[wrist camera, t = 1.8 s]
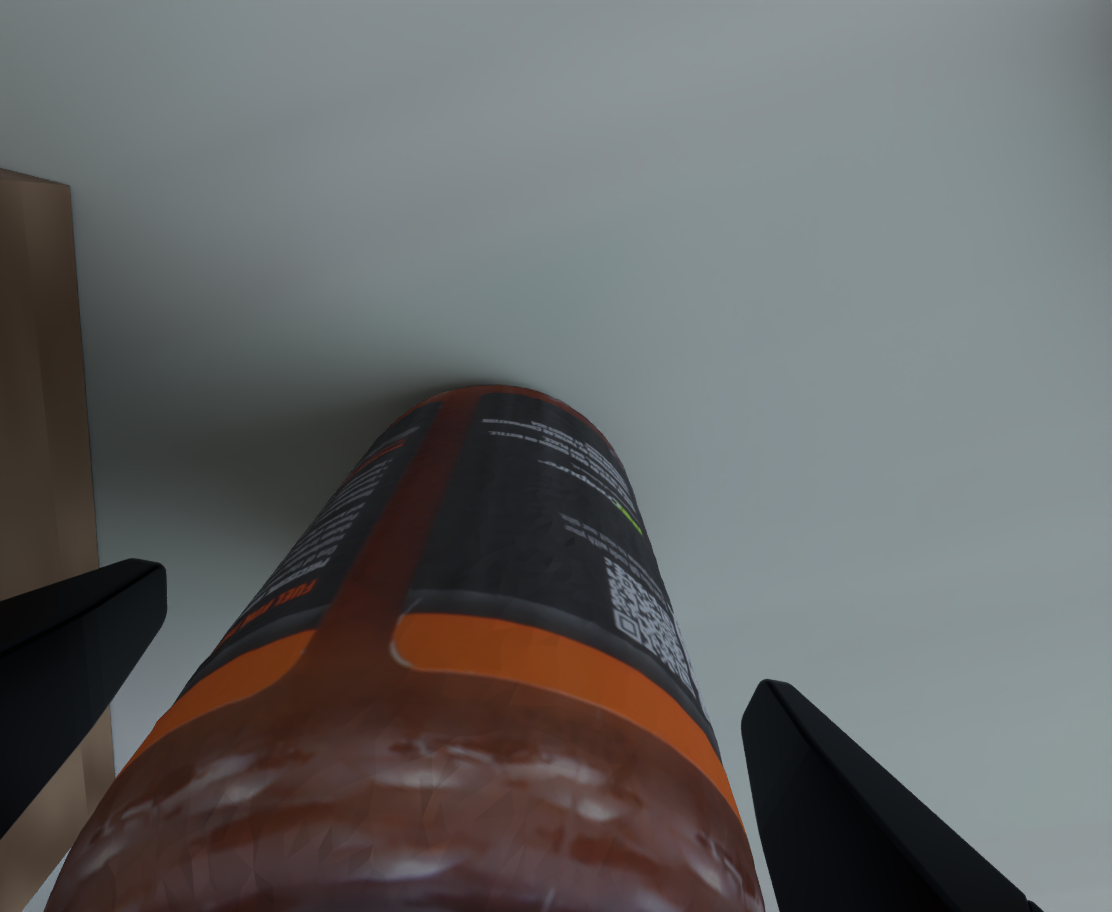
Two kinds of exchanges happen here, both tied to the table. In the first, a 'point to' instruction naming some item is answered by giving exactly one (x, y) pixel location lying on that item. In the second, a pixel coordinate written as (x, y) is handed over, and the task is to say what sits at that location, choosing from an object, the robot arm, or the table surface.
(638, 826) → the supplement bottle
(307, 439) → the table surface
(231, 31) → the table surface
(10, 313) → the brown shallow box
